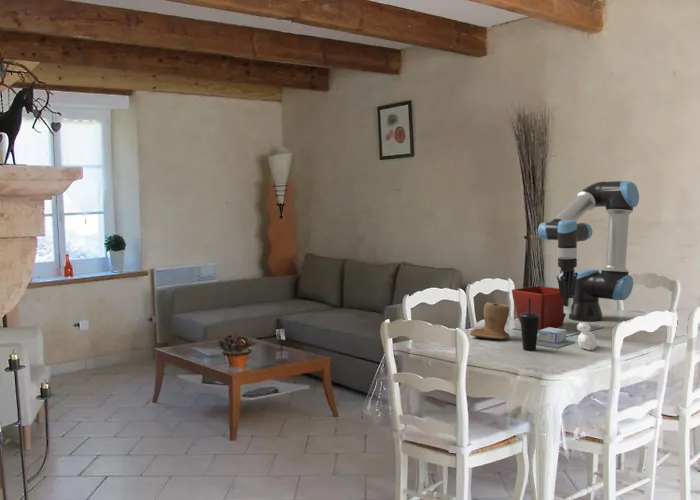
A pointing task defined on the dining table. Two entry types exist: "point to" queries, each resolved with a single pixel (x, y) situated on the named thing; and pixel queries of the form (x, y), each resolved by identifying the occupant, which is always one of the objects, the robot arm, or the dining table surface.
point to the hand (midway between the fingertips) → (567, 313)
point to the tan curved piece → (493, 322)
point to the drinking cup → (529, 329)
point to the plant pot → (541, 305)
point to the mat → (553, 345)
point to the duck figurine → (586, 337)
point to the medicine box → (552, 335)
